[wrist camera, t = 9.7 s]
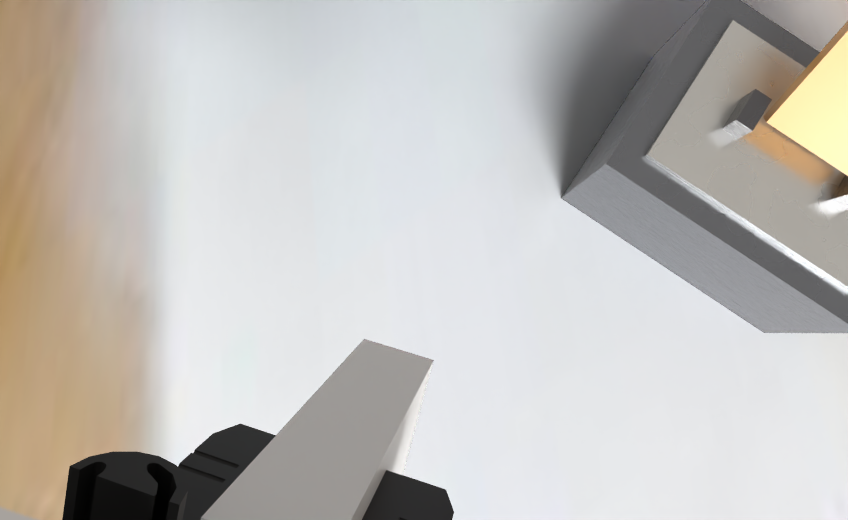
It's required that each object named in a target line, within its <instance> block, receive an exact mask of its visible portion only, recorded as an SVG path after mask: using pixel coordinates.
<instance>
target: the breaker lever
mask: <svg viewBox="0 0 848 520" xmlns="http://www.w3.org/2000/svg"><path fill="white" fill-rule="evenodd" d="M763 118H764V119H765V121H766V122H767V123H768V124H770V125H771V126H773V127H774V128H776V129H777V130H779V131H780V132H782V133H783V134H785V135H786V136H788V137H789V138H791V139H792V140H794V141H796V142H797V143H799V144H800V145H802V146H803V147H805V148H806V149H808V150H809V151H811V152H812V153H814V154H815V155H817V156H818V157H820V158H821V159H823V160H824V161H826V162H827V163H829V164H831V165H832V166H834V167H835V168H837V169H838V170H840V171H841V172H843V173H844V174H846V175H847V176H848V21H847V22H846V23H845V25H844V26H843V27H842V28H841V29H840V30H839V31H838V33H837V34H836V35H835V36H834V37H833V38H832V39H831V40H830V42H829V43H828V44H827V45H826V46H825V47H824V48H823V49H822V51H821V52H820V53H819V54H818V55H817V56H816V57H815V59H814V60H813V61H812V62H811V63H810V64H809V65H808V66H807V68H806V69H805V70H804V71H803V72H802V73H801V74H800V75H799V77H798V78H797V79H796V80H795V81H794V82H793V83H792V85H791V86H790V87H789V88H788V89H787V90H786V91H785V92H784V94H783V95H782V96H781V97H780V98H779V99H778V100H777V101H776V103H775V104H774V105H773V106H772V107H771V108H770V109H769V111H768V112H767V113H766V114H765V115H764V116H763Z"/></svg>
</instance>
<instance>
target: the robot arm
mask: <svg viewBox="0 0 848 520" xmlns="http://www.w3.org/2000/svg"><path fill="white" fill-rule="evenodd" d="M433 361H434V360H431V359H428V358H425V357H421V356H418V355H415V354H412V353H408V352H405V351H402V350H399V349H395V348H392V347H389V346H385V345H382V344H379V343H376V342H372V341H369V340H366V339H364V340H363V341H362V342H361V343H360V344H359V345H358V346H357V347H356V349H355V350H354V351H353V352H352V353H351V354H350V355H349V356H348V357H347V358H346V359H345V361H344V362H343V363H342V364H341V365H340V366H339V367H338V368H337V369H336V370H335V372H334V373H333V374H332V375H331V376H330V377H329V378H328V379H327V380H326V381H325V382H324V384H323V385H322V386H321V387H320V388H319V389H318V390H317V391H316V392H315V393H314V394H313V396H312V397H311V398H310V399H309V400H308V401H307V402H306V403H305V404H304V405H303V407H302V408H301V409H300V410H299V411H298V412H297V413H296V414H295V415H294V416H293V417H292V419H291V420H290V421H289V422H288V423H287V424H286V425H285V426H284V427H283V428H282V429H281V431H280V432H279V433H278V434H277V435H273V434H270V433H267V432H264V431H261V430H258V429H255V428H252V427H249V426H246V425H243V424H238V425H235V426H233V427H230V428H227V429H225V430H222V431H219V432H216V433H214V434H212V435H211V436H210V437H209V438H208V439H207V440H205V441H204V442H203V443H202V444H201V445H200V446H199V447H198V448H196V449H195V451H194V453H191V454H190V455H188V456H187V457H186V458H185V459H184V460H183V461H182V462H181V463H180V464H179V466H178V467H177V466H176V465H175V464H173V463H171V462H169V461H167V460H165V459H163V458H161V457H159V456H155V455H150V454H145V453H141V452H110V453H105V454H100V455H95V456H90V457H88V458H86V459H84V460H82V461H79V462H77V463H75V464H73V465H71V466H70V468H69V475H68V483H67V490H66V497H65V505H64V512H63V520H452V518H453V514H454V511H453V508H452V505H451V503H450V500H449V497H448V494H447V491H446V490H445V489H442V488H439V487H436V486H433V485H430V484H427V483H424V482H421V481H418V480H415V479H412V478H409V477H406V476H403V473H404V470H405V466H406V462H407V458H408V455H409V451H410V447H411V443H412V440H413V436H414V432H415V428H416V425H417V421H418V417H419V413H420V410H421V406H422V402H423V398H424V395H425V391H426V387H427V383H428V380H429V376H430V372H431V368H432V365H433Z"/></svg>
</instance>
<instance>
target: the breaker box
mask: <svg viewBox="0 0 848 520" xmlns="http://www.w3.org/2000/svg"><path fill="white" fill-rule="evenodd" d="M819 53H820V52H818V51H817V50H815V49H814V48H812V47H811V46H809V45H808V44H806V43H805V42H803V41H801V40H800V39H798V38H797V37H795V36H794V35H792V34H791V33H789V32H788V31H786V30H785V29H783V28H782V27H780V26H779V25H777V24H776V23H774V22H772V21H771V20H769V19H768V18H766V17H765V16H763V15H762V14H760V13H759V12H757V11H756V10H754V9H753V8H751V7H750V6H748V5H746V4H745V3H743V2H742V1H740V0H707V1H706V2H705V3H704V4H703V5H702V6H701V7H700V8H699V9H698V10H697V11H696V12H695V13H694V14H693V15H692V16H691V17H690V18H689V19H688V20H687V22H686V23H685V24H684V25H683V26H682V27H681V28H680V29H679V30H678V31H677V32H676V33H675V34H674V35H673V36H672V37H671V38H670V39H669V40H668V41H667V42H666V43H665V44H664V45H663V46H662V48H661V49H660V50H659V51H658V52H657V53H656V54H655V55H654V56H653V58H652V59H651V61H650V62H649V64H648V65H647V67H646V68H645V70H644V71H643V73H642V75H641V76H640V78H639V79H638V81H637V82H636V84H635V85H634V87H633V88H632V90H631V92H630V93H629V95H628V96H627V98H626V99H625V101H624V102H623V104H622V105H621V107H620V108H619V110H618V112H617V113H616V115H615V116H614V118H613V119H612V121H611V122H610V124H609V125H608V127H607V128H606V130H605V132H604V133H603V135H602V136H601V138H600V139H599V141H598V142H597V144H596V145H595V147H594V149H593V150H592V152H591V153H590V155H589V156H588V158H587V159H586V161H585V162H584V164H583V165H582V167H581V169H580V170H579V172H578V173H577V175H576V176H575V178H574V179H573V181H572V182H571V184H570V186H569V187H568V189H567V190H566V192H565V193H564V195H563V196H562V199H563V200H565V201H566V202H568V203H569V204H571V205H572V206H574V207H575V208H577V209H578V210H580V211H581V212H583V213H584V214H586V215H587V216H589V217H590V218H592V219H593V220H595V221H597V222H598V223H600V224H601V225H603V226H604V227H606V228H607V229H609V230H610V231H612V232H613V233H615V234H616V235H618V236H619V237H621V238H622V239H624V240H625V241H627V242H628V243H630V244H631V245H633V246H634V247H636V248H637V249H639V250H640V251H642V252H643V253H645V254H646V255H648V256H649V257H651V258H652V259H654V260H655V261H657V262H658V263H660V264H661V265H663V266H664V267H666V268H667V269H669V270H670V271H672V272H673V273H675V274H676V275H678V276H679V277H681V278H682V279H684V280H685V281H687V282H688V283H690V284H691V285H693V286H695V287H696V288H698V289H699V290H701V291H702V292H704V293H705V294H707V295H708V296H710V297H711V298H713V299H714V300H716V301H717V302H719V303H720V304H722V305H723V306H725V307H726V308H728V309H729V310H731V311H732V312H734V313H735V314H737V315H738V316H740V317H741V318H743V319H744V320H746V321H747V322H749V323H750V324H752V325H753V326H755V327H756V328H758V329H759V330H761V331H762V332H764V333H848V176H847V175H846V174H844V173H843V172H841V171H840V170H838V169H837V168H835V167H834V166H832V165H831V164H829V163H827V162H826V161H824V160H823V159H821V158H820V157H818V156H817V155H815V154H814V153H812V152H811V151H809V150H808V149H806V148H805V147H803V146H802V145H800V144H799V143H797V142H796V141H794V140H792V139H791V138H789V137H788V136H786V135H785V134H783V133H782V132H780V131H779V130H777V129H776V128H774V127H773V126H771V125H770V124H768V123H767V122H766V121H765V119H764V118H763V116H764V115H765V114H766V113H767V112H768V111H769V109H770V108H771V107H772V106H773V105H774V104H775V103H776V101H777V100H778V99H779V98H780V97H781V96H782V95H783V94H784V92H785V91H786V90H787V89H788V88H789V87H790V86H791V85H792V83H793V82H794V81H795V80H796V79H797V78H798V77H799V75H800V74H801V73H802V72H803V71H804V70H805V69H806V68H807V66H808V65H809V64H810V63H811V62H812V61H813V60H814V59H815V57H816V56H817V55H818V54H819Z"/></svg>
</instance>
